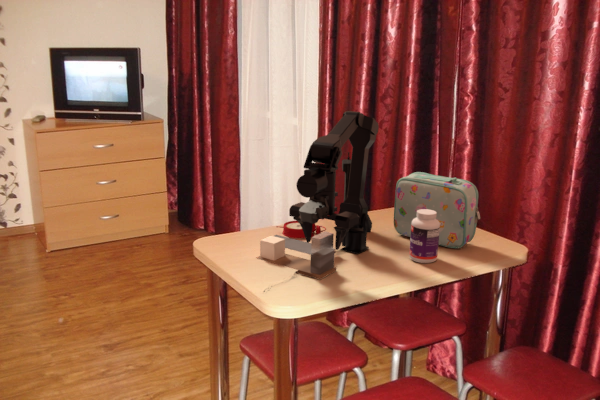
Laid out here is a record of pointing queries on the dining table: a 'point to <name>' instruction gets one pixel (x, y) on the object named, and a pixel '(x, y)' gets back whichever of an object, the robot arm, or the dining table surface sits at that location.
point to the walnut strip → (309, 263)
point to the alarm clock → (298, 230)
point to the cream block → (272, 248)
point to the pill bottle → (424, 237)
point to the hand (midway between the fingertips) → (322, 245)
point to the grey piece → (317, 243)
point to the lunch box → (438, 206)
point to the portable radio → (346, 174)
